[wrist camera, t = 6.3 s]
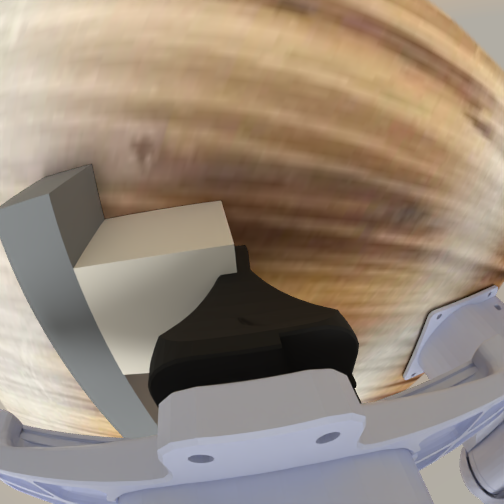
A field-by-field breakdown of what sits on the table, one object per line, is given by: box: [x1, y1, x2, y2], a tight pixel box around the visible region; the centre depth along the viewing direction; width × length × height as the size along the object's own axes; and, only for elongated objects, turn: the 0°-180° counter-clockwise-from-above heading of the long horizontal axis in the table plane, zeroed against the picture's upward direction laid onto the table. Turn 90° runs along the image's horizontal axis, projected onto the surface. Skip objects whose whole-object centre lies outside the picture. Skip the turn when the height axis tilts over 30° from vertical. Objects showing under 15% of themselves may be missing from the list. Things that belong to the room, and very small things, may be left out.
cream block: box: [73, 201, 237, 375], centre depth 11 cm, size 5×5×4 cm
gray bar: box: [0, 164, 158, 439], centre depth 12 cm, size 2×16×4 cm, turn 4°
